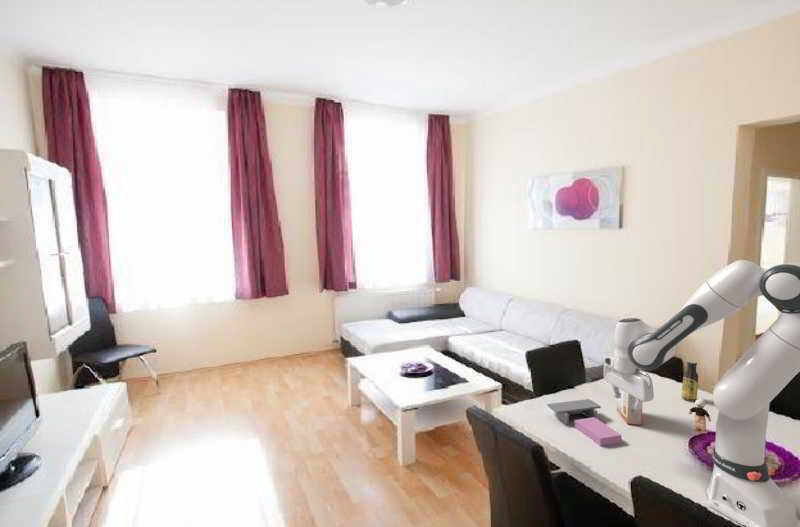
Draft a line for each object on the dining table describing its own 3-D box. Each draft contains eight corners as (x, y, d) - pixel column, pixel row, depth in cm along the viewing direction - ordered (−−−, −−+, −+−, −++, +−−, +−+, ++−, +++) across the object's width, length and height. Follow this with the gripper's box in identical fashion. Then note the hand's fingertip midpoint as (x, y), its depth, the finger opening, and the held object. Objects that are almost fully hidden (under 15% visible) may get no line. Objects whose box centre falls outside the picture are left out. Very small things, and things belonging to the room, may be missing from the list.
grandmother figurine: (712, 432, 161) (713, 400, 160) (709, 435, 159) (711, 403, 157) (689, 425, 167) (690, 394, 166) (686, 428, 164) (687, 397, 163)
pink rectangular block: (621, 443, 155) (621, 434, 155) (600, 447, 153) (600, 438, 153) (593, 425, 170) (594, 417, 170) (574, 428, 168) (574, 420, 168)
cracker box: (643, 425, 168) (644, 375, 166) (626, 424, 169) (627, 374, 167) (631, 410, 181) (632, 363, 179) (616, 409, 182) (617, 363, 180)
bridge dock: (603, 420, 173) (603, 408, 172) (559, 426, 169) (559, 413, 169) (589, 410, 182) (589, 398, 182) (547, 415, 178) (547, 404, 178)
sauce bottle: (679, 398, 191) (680, 360, 190) (686, 396, 194) (687, 358, 192) (692, 403, 186) (694, 364, 184) (700, 400, 188) (701, 362, 187)
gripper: (659, 374, 134) (658, 415, 135) (615, 354, 154) (614, 390, 155) (642, 376, 133) (641, 417, 134) (600, 356, 153) (599, 392, 154)
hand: (626, 403), depth 145 cm, fingers open, 8 cm apart
